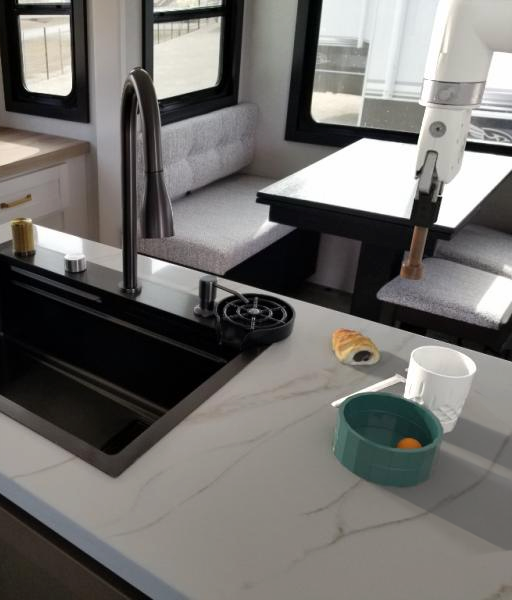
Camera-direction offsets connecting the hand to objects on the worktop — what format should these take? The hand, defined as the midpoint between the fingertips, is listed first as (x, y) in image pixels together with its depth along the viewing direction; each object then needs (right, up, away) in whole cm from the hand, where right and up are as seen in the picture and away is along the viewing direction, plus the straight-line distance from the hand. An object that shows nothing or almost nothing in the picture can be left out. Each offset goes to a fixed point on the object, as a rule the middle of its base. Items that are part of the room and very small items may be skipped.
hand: (422, 222), depth 93 cm
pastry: (-6, -21, +12) cm, 24 cm away
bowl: (-11, -32, -11) cm, 35 cm away
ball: (-8, -29, -13) cm, 33 cm away
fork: (-5, -25, +3) cm, 26 cm away
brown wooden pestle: (0, -8, +4) cm, 9 cm away
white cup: (-1, -28, -4) cm, 29 cm away
